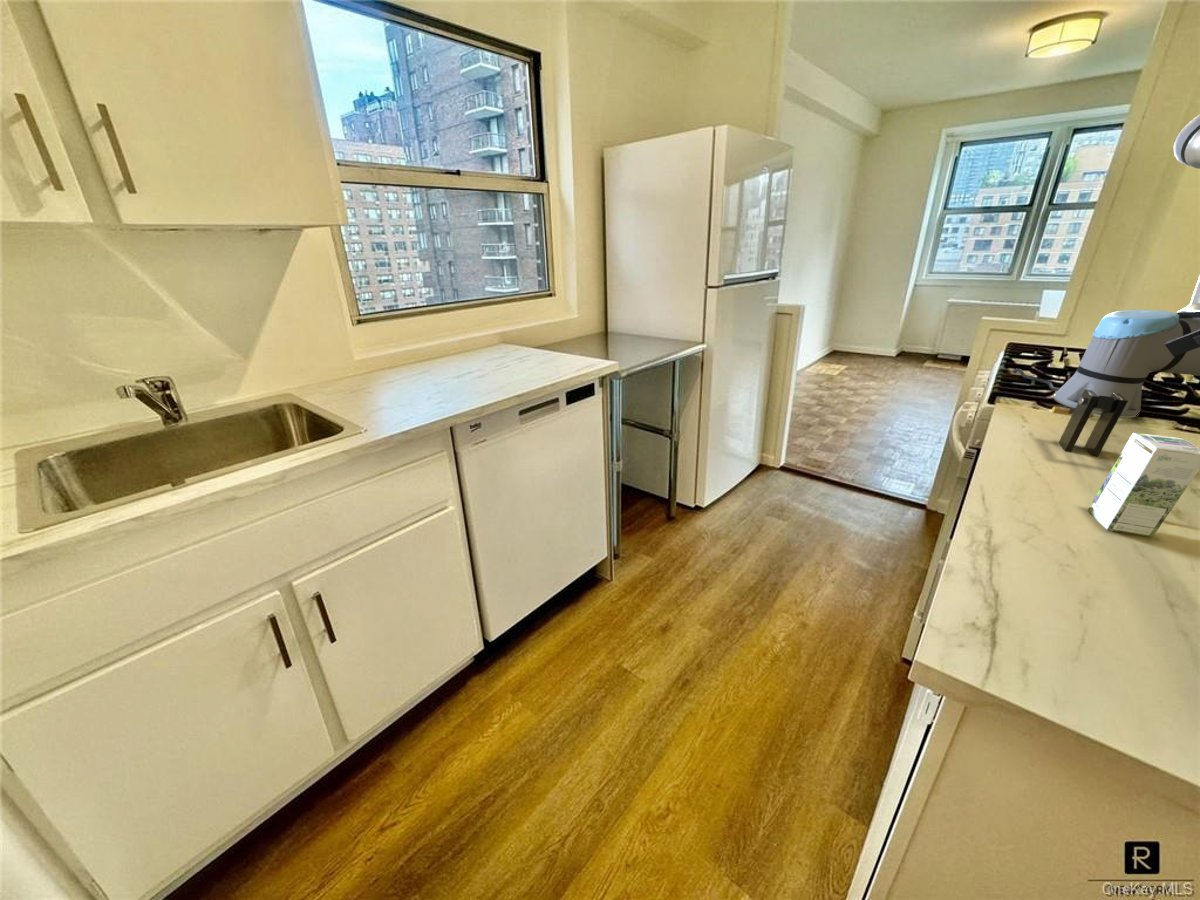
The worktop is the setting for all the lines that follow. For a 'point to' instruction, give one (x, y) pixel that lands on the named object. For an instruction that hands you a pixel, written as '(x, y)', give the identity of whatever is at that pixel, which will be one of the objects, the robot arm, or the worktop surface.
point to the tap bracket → (1101, 427)
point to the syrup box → (1145, 483)
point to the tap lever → (1101, 405)
